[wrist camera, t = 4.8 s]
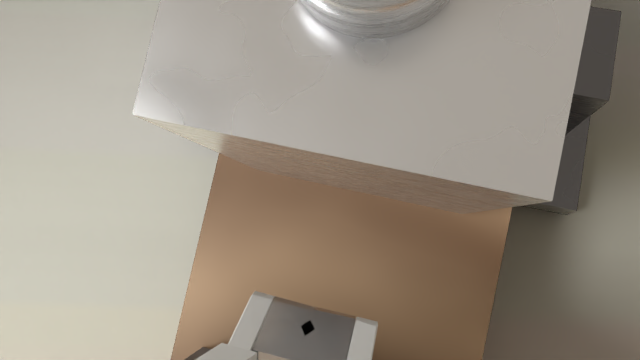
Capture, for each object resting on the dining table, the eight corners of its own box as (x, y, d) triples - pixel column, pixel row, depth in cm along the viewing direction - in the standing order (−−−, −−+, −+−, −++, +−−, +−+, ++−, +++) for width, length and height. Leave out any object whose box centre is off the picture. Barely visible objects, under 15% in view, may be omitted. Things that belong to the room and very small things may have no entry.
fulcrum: (566, 215, 20) (637, 187, 15) (187, 135, 22) (130, 86, 17) (593, 31, 22) (667, -54, 16) (235, -26, 24) (197, -118, 19)
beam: (433, 562, 17) (449, 670, 13) (154, 475, 18) (88, 548, 14) (619, -370, 19) (685, -536, 15) (356, -385, 20) (349, -541, 16)
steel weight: (462, 213, 17) (592, 195, 6) (258, 170, 18) (81, 92, 7) (504, 9, 17) (689, -322, 7) (302, -23, 18) (194, -356, 8)
